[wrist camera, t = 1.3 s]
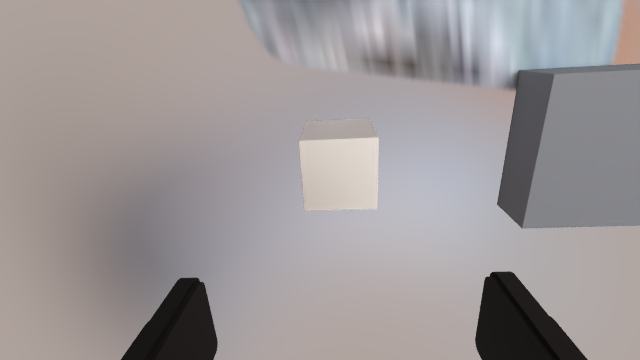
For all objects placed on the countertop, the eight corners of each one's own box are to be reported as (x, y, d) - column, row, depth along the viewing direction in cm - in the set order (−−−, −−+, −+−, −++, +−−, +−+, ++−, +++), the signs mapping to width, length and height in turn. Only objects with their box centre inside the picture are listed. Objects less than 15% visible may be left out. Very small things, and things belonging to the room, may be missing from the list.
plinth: (520, 70, 23) (554, 74, 20) (679, 61, 23) (746, 63, 19) (497, 204, 28) (522, 228, 24) (631, 200, 27) (678, 224, 23)
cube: (306, 120, 26) (298, 140, 20) (369, 117, 25) (378, 137, 20) (310, 178, 28) (304, 211, 22) (368, 176, 27) (377, 208, 22)
